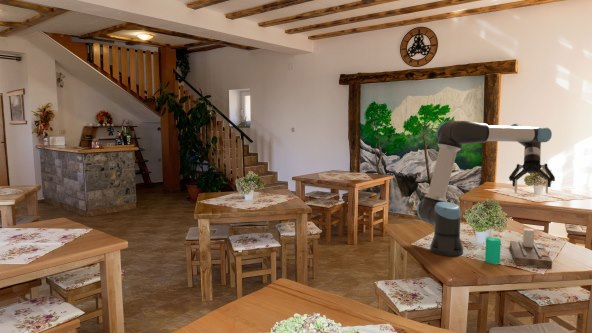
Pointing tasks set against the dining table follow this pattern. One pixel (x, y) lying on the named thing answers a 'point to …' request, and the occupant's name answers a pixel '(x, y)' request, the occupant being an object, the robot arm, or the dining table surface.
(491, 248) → the candle
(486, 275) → the dining table surface
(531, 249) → the switch board
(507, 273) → the dining table surface
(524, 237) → the switch tab
